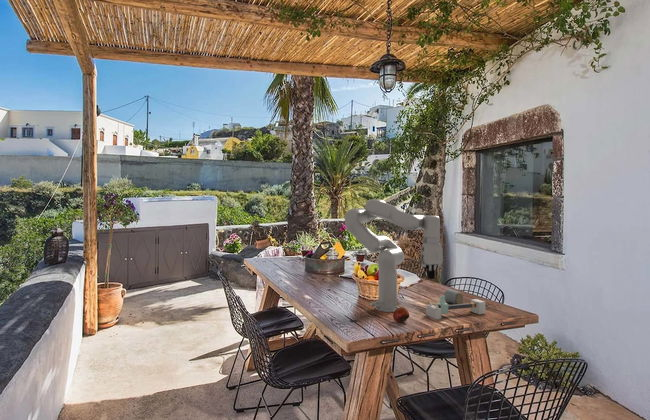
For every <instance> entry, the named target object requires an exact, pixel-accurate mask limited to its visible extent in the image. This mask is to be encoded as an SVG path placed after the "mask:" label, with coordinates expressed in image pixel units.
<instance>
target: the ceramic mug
mask: <svg viewBox="0 0 650 420" xmlns="http://www.w3.org/2000/svg"><path fill="white" fill-rule="evenodd" d="M463 295H464V294H463V293H462V292H460V291H458V290H454V289H453V288H452V289H451V288H447V289H446V290H445V291H444V294H443V296H445V303H447V304H451V305H454V304H463V303H464V296H463Z"/></svg>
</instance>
